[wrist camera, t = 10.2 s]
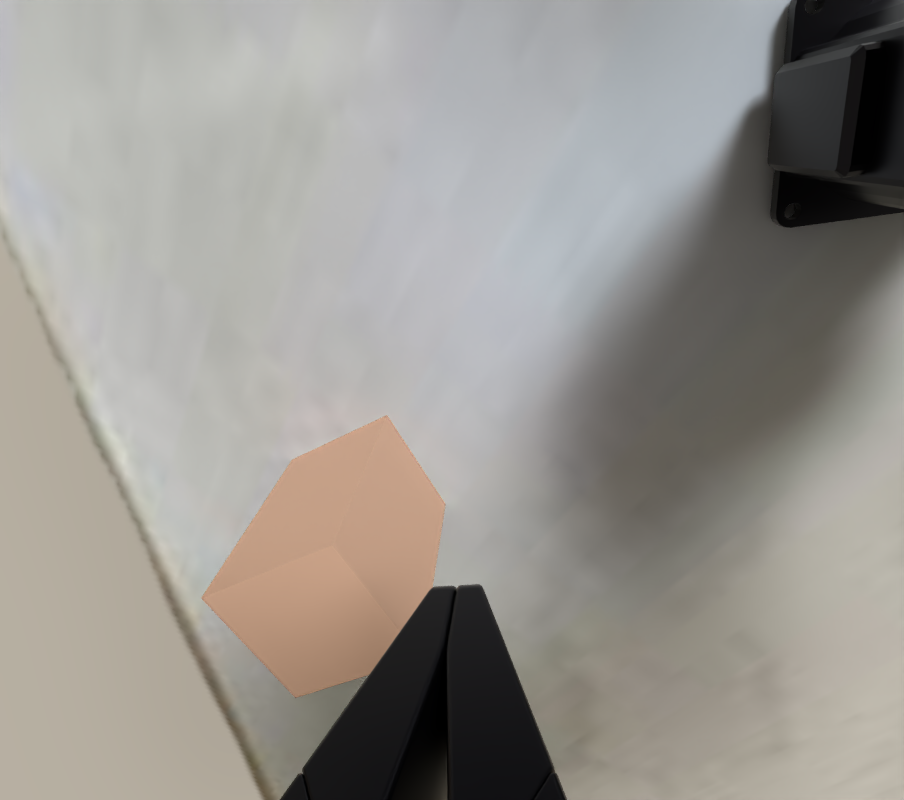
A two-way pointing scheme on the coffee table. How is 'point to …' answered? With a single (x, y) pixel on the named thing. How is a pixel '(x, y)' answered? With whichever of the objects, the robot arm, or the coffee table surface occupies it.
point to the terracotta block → (333, 560)
